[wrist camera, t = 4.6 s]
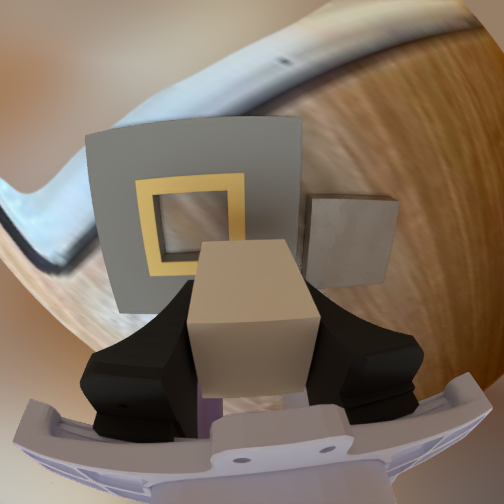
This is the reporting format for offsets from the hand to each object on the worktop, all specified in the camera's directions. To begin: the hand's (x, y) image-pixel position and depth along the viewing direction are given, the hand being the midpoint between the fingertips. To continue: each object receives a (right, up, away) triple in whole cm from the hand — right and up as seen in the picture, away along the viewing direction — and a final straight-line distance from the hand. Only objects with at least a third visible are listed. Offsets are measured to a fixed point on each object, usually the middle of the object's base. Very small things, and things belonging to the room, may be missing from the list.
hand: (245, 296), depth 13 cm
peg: (0, +1, +1) cm, 2 cm away
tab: (+9, +3, +10) cm, 14 cm away
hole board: (-4, +5, +9) cm, 11 cm away
